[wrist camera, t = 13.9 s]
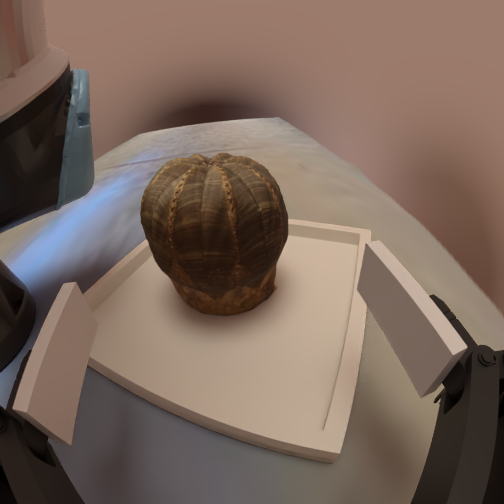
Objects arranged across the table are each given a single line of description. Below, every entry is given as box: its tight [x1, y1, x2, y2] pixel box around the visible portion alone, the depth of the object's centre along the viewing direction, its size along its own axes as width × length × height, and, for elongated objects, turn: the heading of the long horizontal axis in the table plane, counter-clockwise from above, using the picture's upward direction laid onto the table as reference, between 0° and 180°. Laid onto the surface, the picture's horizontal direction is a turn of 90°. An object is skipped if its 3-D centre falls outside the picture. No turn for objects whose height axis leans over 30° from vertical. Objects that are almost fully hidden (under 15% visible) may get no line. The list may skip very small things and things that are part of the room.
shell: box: [140, 153, 289, 316], centre depth 22 cm, size 11×11×12 cm
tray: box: [83, 219, 371, 464], centre depth 25 cm, size 24×24×2 cm
